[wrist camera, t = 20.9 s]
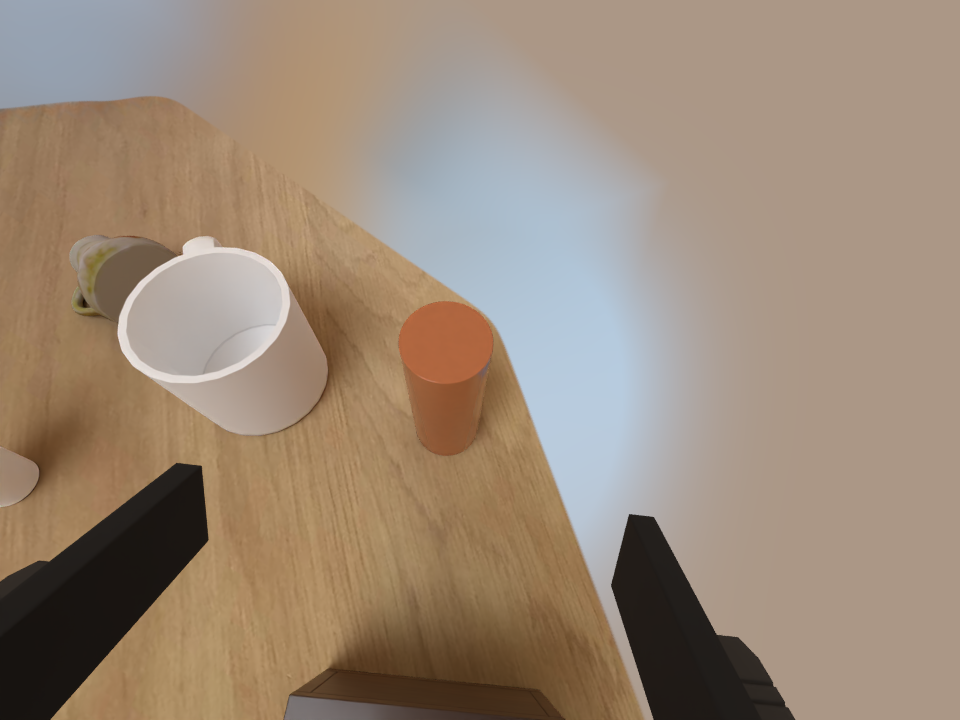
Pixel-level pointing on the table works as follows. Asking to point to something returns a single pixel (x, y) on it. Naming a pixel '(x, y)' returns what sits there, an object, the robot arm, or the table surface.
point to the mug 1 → (112, 271)
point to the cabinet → (412, 699)
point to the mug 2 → (225, 338)
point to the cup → (16, 477)
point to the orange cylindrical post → (446, 373)
